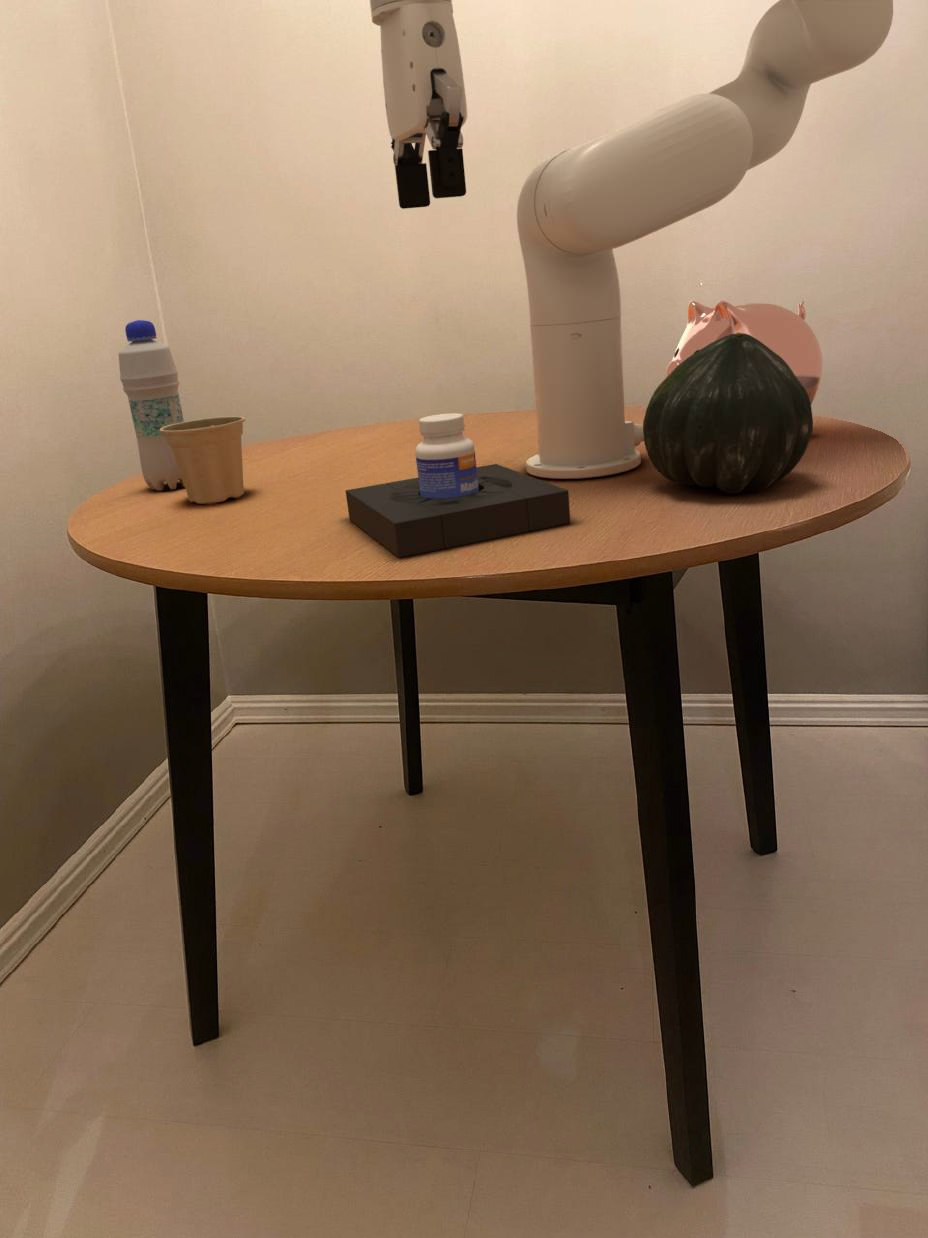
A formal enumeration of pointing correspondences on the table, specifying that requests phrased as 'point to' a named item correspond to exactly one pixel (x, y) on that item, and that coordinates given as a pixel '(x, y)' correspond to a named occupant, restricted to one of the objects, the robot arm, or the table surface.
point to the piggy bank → (756, 335)
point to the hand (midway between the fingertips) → (431, 202)
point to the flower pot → (208, 457)
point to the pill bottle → (445, 458)
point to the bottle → (151, 401)
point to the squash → (729, 418)
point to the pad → (457, 511)
